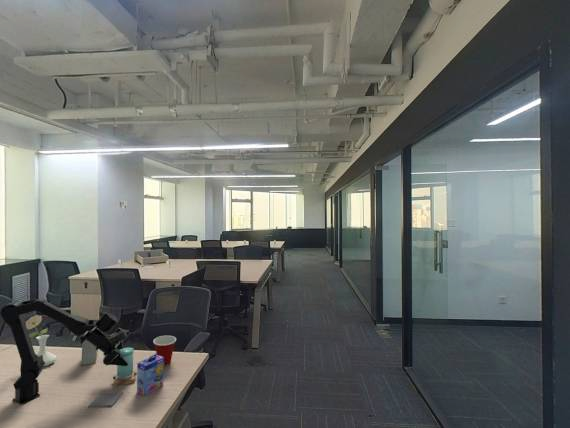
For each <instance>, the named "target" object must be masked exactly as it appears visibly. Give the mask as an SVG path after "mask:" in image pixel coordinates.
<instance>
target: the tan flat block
mask: <svg viewBox="0 0 570 428" xmlns="http://www.w3.org/2000/svg"><path fill="white" fill-rule="evenodd" d="M136 376H137V371H136V370H133V373H132V374H131V375H129V376H125V377H118V376H117V373H116V374H115V375H113V376H112V380H114V381H113V387H118V386H123V385H128V384H134V383H135V382H136V381H135V380H136Z"/></svg>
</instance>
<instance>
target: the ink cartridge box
mask: <svg viewBox="0 0 570 428" xmlns="http://www.w3.org/2000/svg"><path fill="white" fill-rule="evenodd" d="M164 369H165V366H164V357H162V356H159V355H157V354H156V353H155V354H153V355H151V356H149V357H148V358H145V359H144V360H141V361H139V362H137V370H136V372H137V375H136V376H137V377H136V379H137V380H136V381H137V382H136V392H137V393H139V394H140V395H143V396H146V395H148V394H150V393H151V392H154V391H155V390H157V389H158V388H160V387H162V386H164V376H165V374H164V373H165V372H164V371H165V370H164Z"/></svg>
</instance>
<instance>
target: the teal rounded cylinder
mask: <svg viewBox="0 0 570 428" xmlns="http://www.w3.org/2000/svg"><path fill="white" fill-rule="evenodd" d="M134 350H135V349H134V348H133V347H124V348H123V349H120V350H119V351H120V356H121V357H122V358H123V359H124V360H125V361H126V362H127V363H128V365H127V366H120V365H116V374H117V376H118V377H125V376H129V375H131V374H132V373H133V371H134Z"/></svg>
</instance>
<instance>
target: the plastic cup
mask: <svg viewBox="0 0 570 428" xmlns="http://www.w3.org/2000/svg"><path fill="white" fill-rule="evenodd" d="M176 341H177V337H176V336H173V335H160V336H157V337H156V338H154V339H153V344H154V348H155V354H157V355H159V356H162V357H164V367H166V366H168V365H170V364H171V362H172V357H173V352H174V347H175V343H176Z"/></svg>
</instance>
